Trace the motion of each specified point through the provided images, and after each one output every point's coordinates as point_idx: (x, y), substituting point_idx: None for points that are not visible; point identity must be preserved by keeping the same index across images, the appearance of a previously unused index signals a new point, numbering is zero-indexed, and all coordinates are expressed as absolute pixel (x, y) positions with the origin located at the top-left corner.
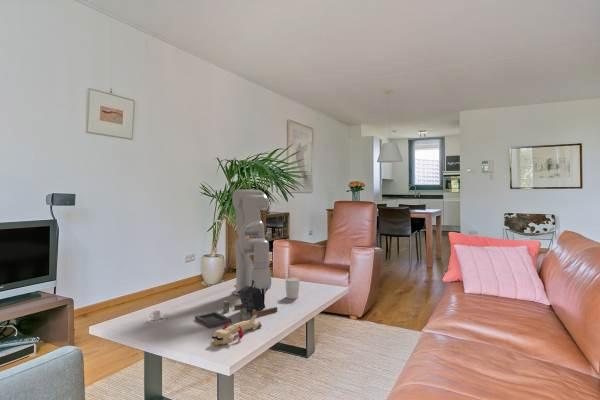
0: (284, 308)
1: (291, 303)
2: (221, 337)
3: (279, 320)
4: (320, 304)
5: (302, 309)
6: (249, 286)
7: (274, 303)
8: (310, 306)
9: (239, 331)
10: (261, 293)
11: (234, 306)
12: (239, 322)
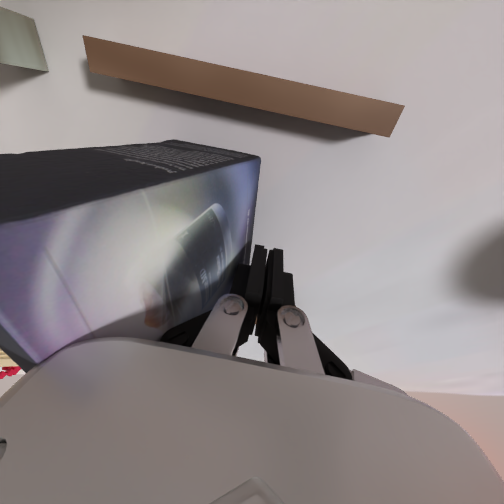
0: (358, 317)
1: (482, 306)
2: None
3: None
4: (492, 393)
5: (379, 368)
6: (17, 346)
7: (452, 224)
8: (442, 377)
9: (8, 369)
10: (234, 348)
11: (92, 38)
12: (5, 359)
